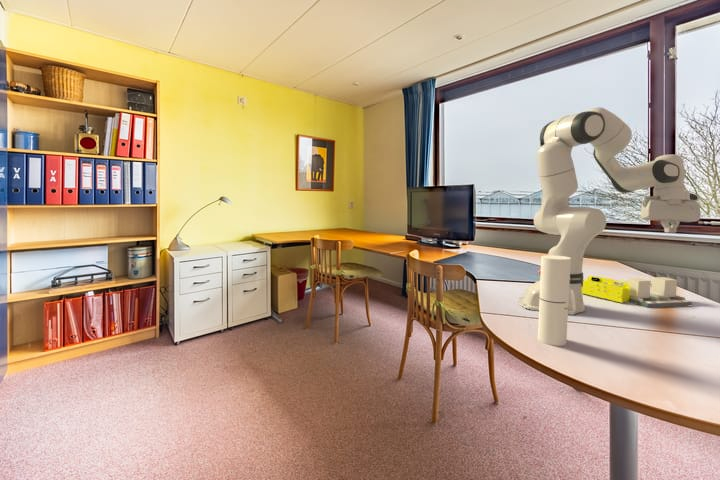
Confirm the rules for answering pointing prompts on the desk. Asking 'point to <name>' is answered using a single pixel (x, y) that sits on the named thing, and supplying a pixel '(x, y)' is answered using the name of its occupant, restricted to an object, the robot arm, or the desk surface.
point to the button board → (659, 301)
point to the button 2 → (664, 286)
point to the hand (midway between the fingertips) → (670, 232)
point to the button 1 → (639, 287)
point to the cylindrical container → (554, 299)
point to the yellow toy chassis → (606, 289)
